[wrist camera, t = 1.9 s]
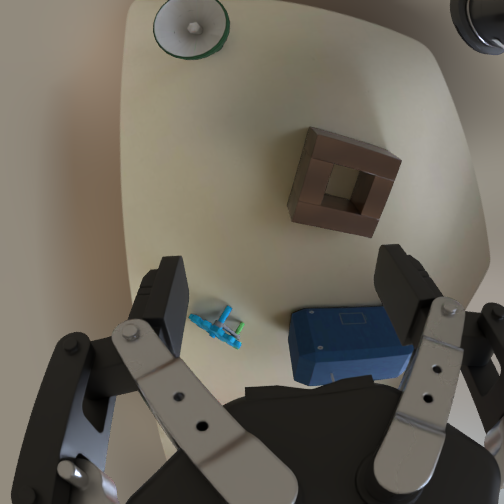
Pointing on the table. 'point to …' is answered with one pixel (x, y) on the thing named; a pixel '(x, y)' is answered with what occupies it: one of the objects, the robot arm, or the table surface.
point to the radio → (345, 345)
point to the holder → (364, 194)
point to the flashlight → (191, 28)
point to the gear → (220, 328)
